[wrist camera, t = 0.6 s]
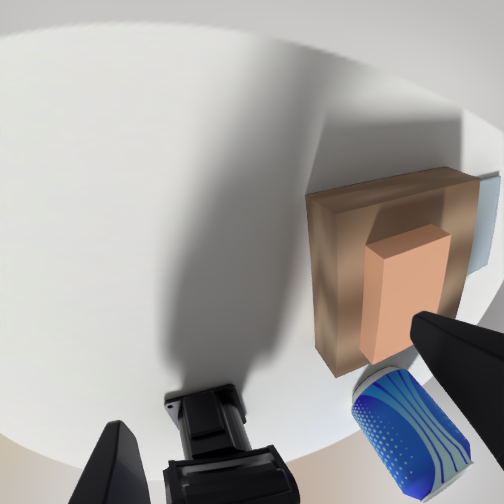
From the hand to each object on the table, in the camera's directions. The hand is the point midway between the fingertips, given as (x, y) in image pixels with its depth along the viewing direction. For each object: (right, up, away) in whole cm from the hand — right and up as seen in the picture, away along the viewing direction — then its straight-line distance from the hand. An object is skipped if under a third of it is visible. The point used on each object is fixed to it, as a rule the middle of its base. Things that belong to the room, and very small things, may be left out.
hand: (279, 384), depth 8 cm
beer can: (+14, -13, +26) cm, 32 cm away
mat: (+22, +6, +20) cm, 30 cm away
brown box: (+10, +3, +17) cm, 20 cm away
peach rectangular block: (+10, +1, +13) cm, 17 cm away
